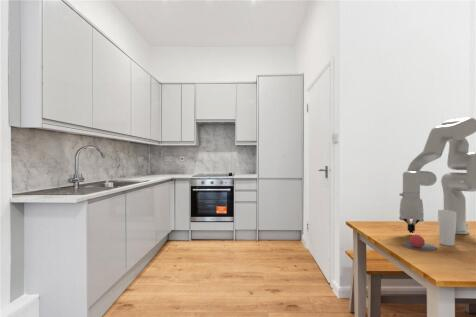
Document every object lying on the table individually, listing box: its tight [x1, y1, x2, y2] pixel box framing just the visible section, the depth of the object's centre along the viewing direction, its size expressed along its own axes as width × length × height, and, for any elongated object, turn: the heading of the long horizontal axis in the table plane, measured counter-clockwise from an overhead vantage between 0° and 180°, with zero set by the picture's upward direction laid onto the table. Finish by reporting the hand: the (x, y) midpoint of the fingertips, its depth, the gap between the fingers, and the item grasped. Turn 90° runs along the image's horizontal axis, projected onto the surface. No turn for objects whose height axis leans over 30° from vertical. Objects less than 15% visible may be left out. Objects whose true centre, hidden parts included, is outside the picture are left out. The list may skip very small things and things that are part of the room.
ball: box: [409, 234, 426, 248], centre depth 127 cm, size 6×6×6 cm
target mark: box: [401, 241, 438, 252], centre depth 129 cm, size 13×13×1 cm
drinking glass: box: [437, 209, 457, 247], centre depth 132 cm, size 7×7×15 cm
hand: (411, 232), depth 150 cm, fingers closed
